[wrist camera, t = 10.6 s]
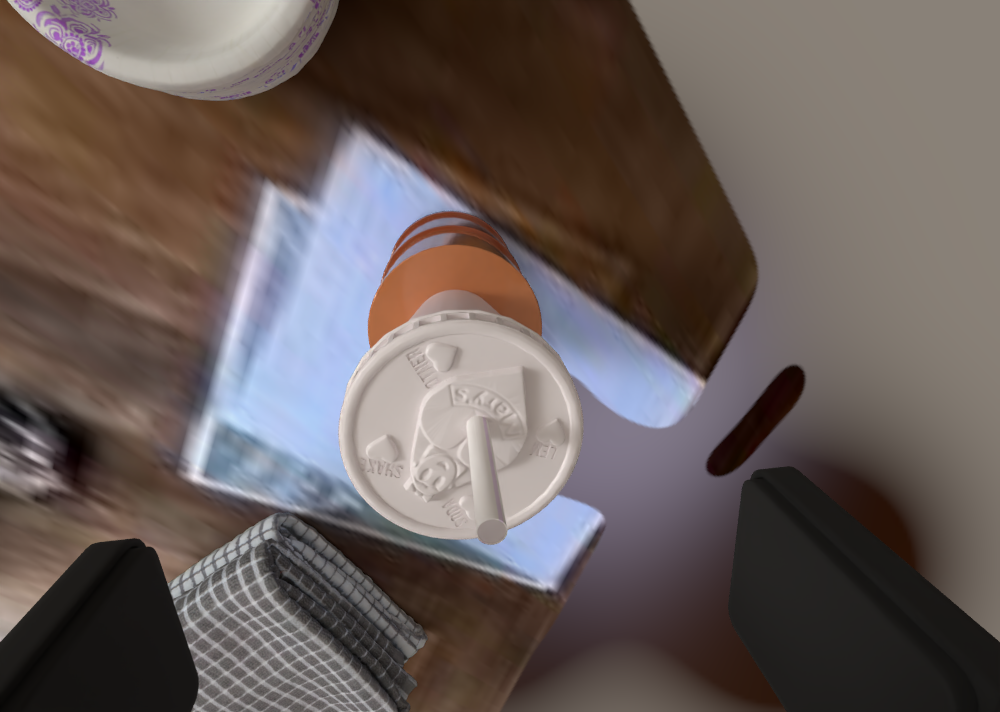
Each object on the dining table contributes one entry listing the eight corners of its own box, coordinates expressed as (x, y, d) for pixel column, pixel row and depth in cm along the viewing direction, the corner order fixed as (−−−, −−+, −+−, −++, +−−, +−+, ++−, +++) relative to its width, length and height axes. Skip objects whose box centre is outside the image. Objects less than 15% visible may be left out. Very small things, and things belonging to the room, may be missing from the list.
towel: (285, 491, 40) (249, 563, 33) (434, 635, 46) (432, 724, 38) (134, 596, 42) (67, 688, 34) (297, 722, 48) (270, 824, 40)
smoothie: (560, 318, 23) (716, 515, 10) (469, 427, 24) (499, 730, 11) (440, 224, 21) (434, 309, 8) (348, 346, 22) (214, 594, 9)
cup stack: (373, 228, 34) (330, 262, 21) (496, 197, 35) (529, 212, 21) (409, 344, 37) (391, 439, 24) (523, 315, 37) (567, 394, 24)
